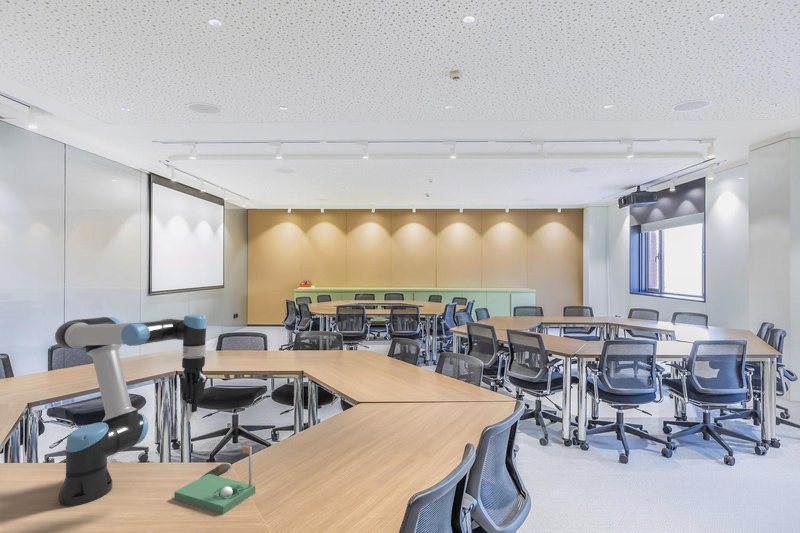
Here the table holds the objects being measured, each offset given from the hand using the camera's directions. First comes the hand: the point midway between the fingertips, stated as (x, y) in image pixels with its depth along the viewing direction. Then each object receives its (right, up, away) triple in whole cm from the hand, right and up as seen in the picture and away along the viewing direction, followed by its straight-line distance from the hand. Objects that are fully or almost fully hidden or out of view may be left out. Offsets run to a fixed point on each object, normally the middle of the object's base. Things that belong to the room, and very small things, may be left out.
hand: (191, 420), depth 143 cm
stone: (+4, -26, +9) cm, 28 cm away
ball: (+17, -22, -9) cm, 29 cm away
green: (+12, -24, -7) cm, 28 cm away
